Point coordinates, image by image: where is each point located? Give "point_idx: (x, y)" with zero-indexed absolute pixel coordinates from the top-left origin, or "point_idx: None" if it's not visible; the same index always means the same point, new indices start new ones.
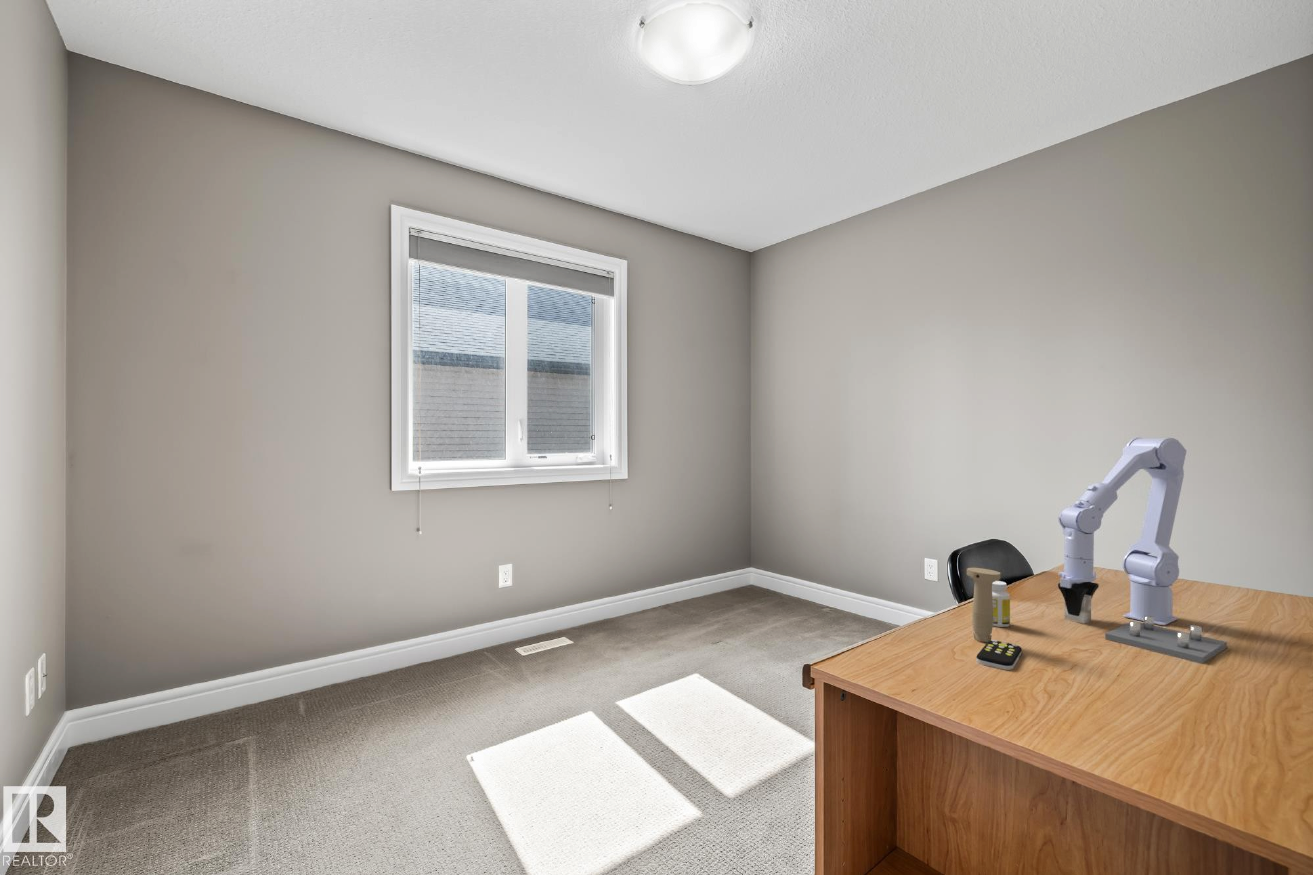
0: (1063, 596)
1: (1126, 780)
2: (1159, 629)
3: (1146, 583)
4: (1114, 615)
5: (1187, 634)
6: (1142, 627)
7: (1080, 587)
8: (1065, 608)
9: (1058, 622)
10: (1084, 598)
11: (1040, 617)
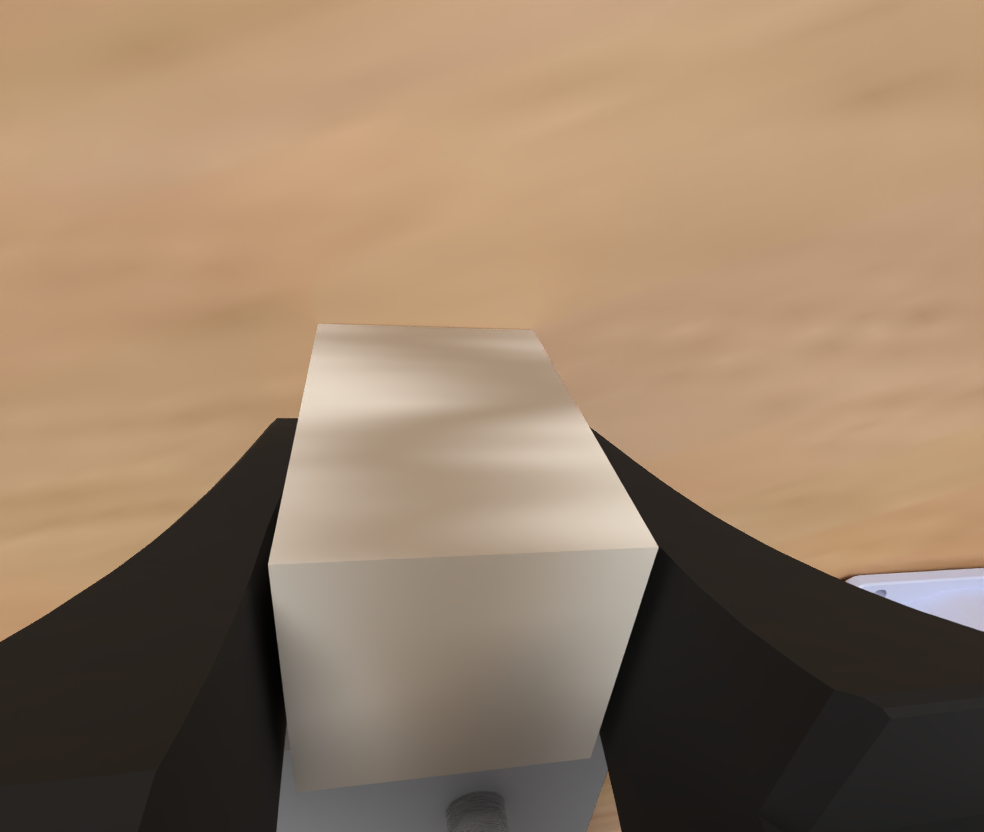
0: (101, 580)
1: None
2: (522, 825)
3: None
4: (868, 522)
5: None
6: (481, 787)
7: (693, 770)
8: (303, 402)
9: (70, 333)
10: (303, 791)
11: (33, 55)
